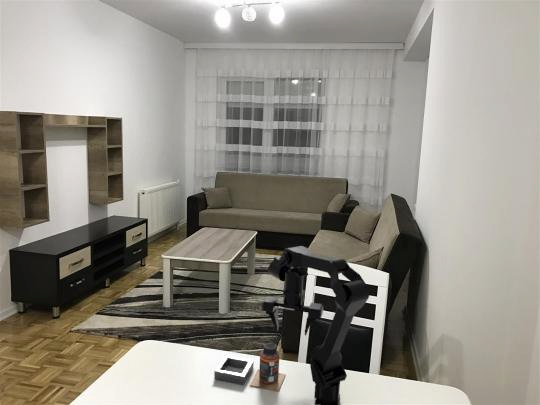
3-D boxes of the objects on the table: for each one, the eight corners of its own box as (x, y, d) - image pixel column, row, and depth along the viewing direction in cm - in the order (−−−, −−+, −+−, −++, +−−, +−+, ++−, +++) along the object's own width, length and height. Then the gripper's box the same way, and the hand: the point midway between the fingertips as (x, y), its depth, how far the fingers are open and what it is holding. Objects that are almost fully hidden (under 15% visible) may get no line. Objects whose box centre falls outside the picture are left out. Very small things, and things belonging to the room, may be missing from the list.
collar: (253, 368, 146) (253, 360, 146) (244, 385, 137) (244, 376, 137) (225, 363, 149) (225, 355, 148) (214, 379, 140) (214, 370, 139)
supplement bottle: (276, 386, 137) (277, 352, 135) (257, 383, 138) (258, 349, 136) (280, 375, 143) (281, 342, 140) (261, 372, 144) (262, 339, 141)
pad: (285, 375, 144) (285, 374, 143) (278, 391, 135) (278, 390, 135) (258, 370, 146) (258, 369, 146) (249, 386, 137) (249, 384, 137)
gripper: (327, 281, 147) (324, 326, 150) (271, 273, 151) (269, 317, 154) (322, 293, 136) (319, 341, 139) (262, 285, 141) (260, 332, 144)
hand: (291, 332), depth 144 cm, fingers open, 9 cm apart
